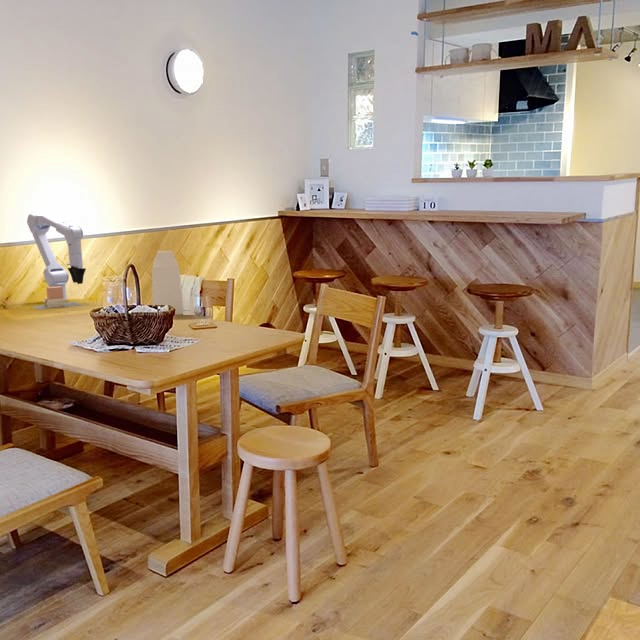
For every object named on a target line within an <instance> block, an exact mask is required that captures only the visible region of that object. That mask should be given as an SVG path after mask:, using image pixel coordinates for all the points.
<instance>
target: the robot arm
mask: <svg viewBox="0 0 640 640" xmlns="http://www.w3.org/2000/svg"><path fill="white" fill-rule="evenodd" d="M26 219H27V220H26V223H27V225H28V229H29V230H30V232H31V234H32V237H33V238H34V241H35V244H36V246H37V249H38V251H39V253H40V256H41V257H42V260H43V262H44V266H45V269H44V270H43V272H42V273H43V276H44V281H45V283H46V285H47V286H48V287H56V286H61V287H62V288H63V298H64V302H65V301H68V300H67V288H66V287H67V286H66V285H68V284H67V283H68V282H69V279H70V278H71V280H72V283H73V284H74V283H77V284H78V285H82V284H83V283H84V275H85V272H86V268H84V267H83V265H84V262H83V261H84V260H83V250H82V240H81V239H82V238H83V236H84V232H83V230H82V228H81V227H80V226H74V225H73V224H70V223H68V222H67V221H66V220H58V219H57V218H55V217H54V216H53V215H52V214H51V213H49V212H44V213H40V212H39V213H32V212H31V213H29V214H28V215H27V218H26ZM50 227H53V228H55V231H56V232H57V233H59V234H61V235H62V236H64V238H65V240H66V244H67V248H68V249H67V251H68V260H69V262H68V263H66V266H70V267H67V270H68V271H67V270H66V269H65V267H64V266H63V265H61V264H60V263H58V261H57V259H56V256H55V255H54V252H53V249H52V247H51V245H50V242H49V240H48V238H47V235H46V233H48V232H49V230H50V229H51V228H50ZM68 272H69V273H68ZM69 274H70V275H69ZM70 276H71V277H70Z"/></svg>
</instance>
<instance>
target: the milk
mask: <svg viewBox="0 0 640 640" xmlns="http://www.w3.org/2000/svg"><path fill="white" fill-rule="evenodd" d="M180 273H181V272H180V266H179V263H178V260H177V258H176V256H175V254H174V252H173V250H158V251H157V252H156V254H155V257H154V260H153V265H152V268H151V283H152V284H151V286H152V287H151V288H152V291H151V292H152V294H151V295H152V307H153V306H155V305H170V306H172V307H174V308H175V309H176V312H175V315H183V313H184V311H185V309H184V301H183V289H182V280H181V274H180Z"/></svg>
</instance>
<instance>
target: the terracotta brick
mask: <svg viewBox="0 0 640 640" xmlns="http://www.w3.org/2000/svg"><path fill="white" fill-rule="evenodd" d="M46 298H48V299H59V298H63V288H62V287H61V286H56V287H49V286H47V287H46Z"/></svg>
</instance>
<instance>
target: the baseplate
mask: <svg viewBox="0 0 640 640" xmlns="http://www.w3.org/2000/svg"><path fill="white" fill-rule="evenodd" d="M80 306H82V304H80V303H78V302H76V301H72V302H65V306H61V307H51V308H48V307H46V306H45V304H41V305H32V306H31V307H32V308H34V309H36V310H38V311H39V310H47V309H58V308H67V307H80Z"/></svg>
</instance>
